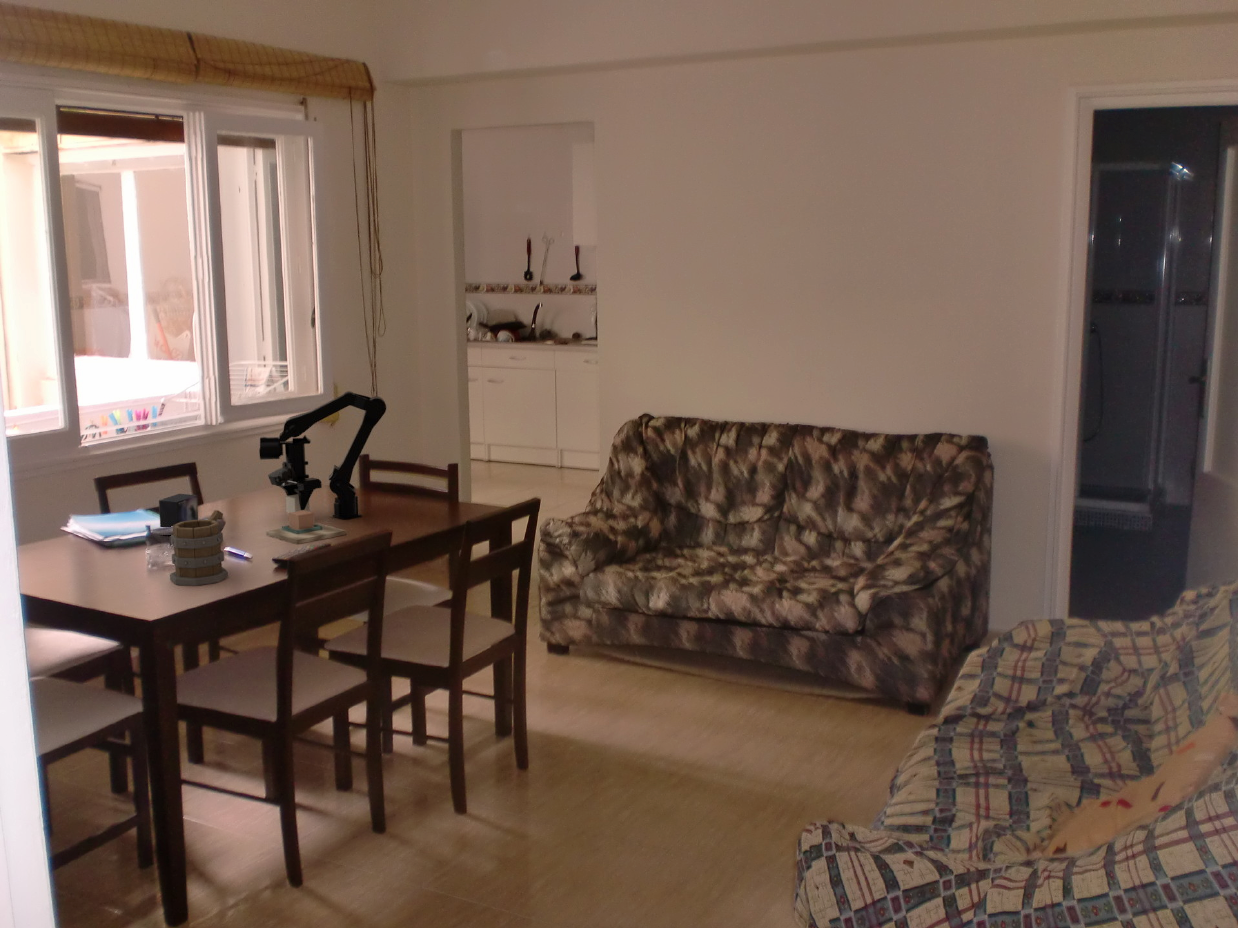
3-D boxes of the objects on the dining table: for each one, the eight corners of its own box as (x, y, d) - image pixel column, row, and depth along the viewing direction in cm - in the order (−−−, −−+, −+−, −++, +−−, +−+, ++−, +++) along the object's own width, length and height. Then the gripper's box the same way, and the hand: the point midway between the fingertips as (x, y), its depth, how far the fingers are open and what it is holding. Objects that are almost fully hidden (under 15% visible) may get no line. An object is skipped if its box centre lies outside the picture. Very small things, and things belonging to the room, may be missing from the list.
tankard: (210, 586, 279) (206, 526, 276) (161, 584, 281) (157, 524, 278) (249, 566, 298) (246, 509, 296) (203, 564, 300) (200, 507, 298)
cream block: (300, 509, 356) (300, 493, 355) (309, 512, 353) (308, 496, 352) (286, 512, 352) (285, 496, 352) (295, 514, 349) (294, 498, 348)
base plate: (314, 526, 343) (314, 518, 343) (345, 534, 333) (345, 527, 332) (266, 535, 332) (266, 527, 332) (296, 544, 321) (296, 536, 321)
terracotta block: (304, 527, 337) (303, 510, 336) (314, 529, 334) (313, 512, 333) (289, 529, 333) (288, 512, 332) (299, 532, 330) (298, 515, 329)
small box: (180, 537, 330) (177, 501, 328) (159, 536, 331) (157, 500, 330) (200, 528, 340) (198, 494, 339) (180, 527, 342) (178, 493, 340)
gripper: (255, 458, 350) (258, 508, 353) (288, 465, 338) (291, 517, 340) (287, 453, 358) (290, 503, 361) (321, 460, 346) (323, 511, 348)
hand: (297, 508), depth 352 cm, fingers closed on cream block, 5 cm apart
